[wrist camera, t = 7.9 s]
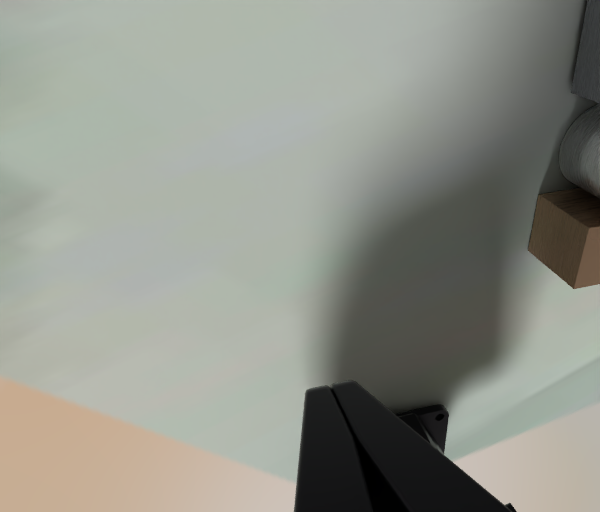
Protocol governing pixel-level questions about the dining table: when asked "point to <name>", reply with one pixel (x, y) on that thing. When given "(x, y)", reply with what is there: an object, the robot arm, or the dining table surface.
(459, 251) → the dining table surface
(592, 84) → the bar
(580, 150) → the frame
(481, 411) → the dining table surface
